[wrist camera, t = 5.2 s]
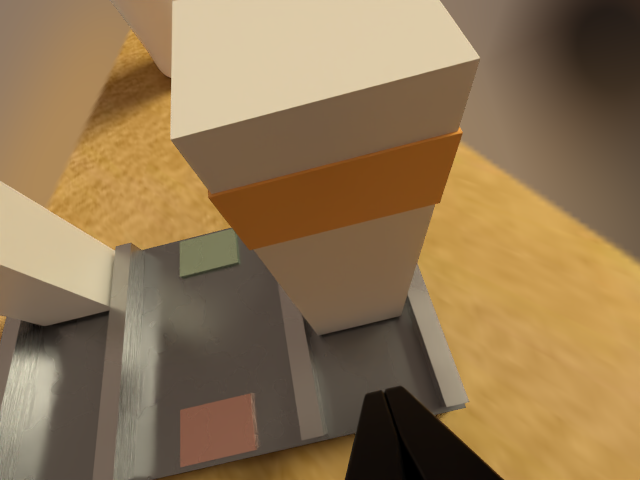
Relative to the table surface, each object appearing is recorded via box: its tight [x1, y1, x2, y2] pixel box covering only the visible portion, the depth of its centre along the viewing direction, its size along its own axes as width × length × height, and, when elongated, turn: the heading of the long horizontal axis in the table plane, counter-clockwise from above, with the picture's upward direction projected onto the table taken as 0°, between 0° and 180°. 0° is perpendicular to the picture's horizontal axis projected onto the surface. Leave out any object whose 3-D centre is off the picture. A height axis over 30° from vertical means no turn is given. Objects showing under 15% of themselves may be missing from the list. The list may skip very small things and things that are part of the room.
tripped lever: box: [171, 0, 480, 336], centre depth 10 cm, size 3×4×12 cm
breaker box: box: [0, 228, 469, 480], centre depth 16 cm, size 10×19×3 cm, turn 102°
